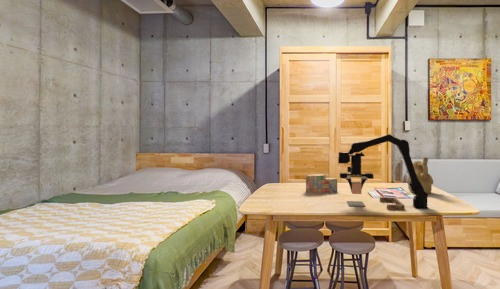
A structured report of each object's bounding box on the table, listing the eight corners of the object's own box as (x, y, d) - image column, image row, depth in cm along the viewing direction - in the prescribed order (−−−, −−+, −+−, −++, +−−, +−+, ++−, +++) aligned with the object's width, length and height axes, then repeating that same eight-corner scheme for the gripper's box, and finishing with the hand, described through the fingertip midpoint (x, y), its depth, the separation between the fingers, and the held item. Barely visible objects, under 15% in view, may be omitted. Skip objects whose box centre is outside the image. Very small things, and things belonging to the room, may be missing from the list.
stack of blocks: (333, 190, 250) (333, 173, 249) (337, 191, 244) (337, 174, 243) (305, 191, 246) (305, 174, 245) (309, 193, 239) (309, 175, 239)
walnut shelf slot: (395, 201, 210) (395, 197, 210) (404, 209, 190) (404, 205, 190) (379, 201, 212) (379, 197, 212) (387, 209, 191) (387, 205, 191)
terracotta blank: (361, 194, 200) (361, 183, 199) (352, 193, 200) (352, 183, 200) (359, 191, 207) (359, 181, 207) (350, 191, 208) (350, 181, 208)
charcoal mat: (362, 202, 209) (362, 201, 209) (365, 206, 198) (365, 205, 198) (346, 201, 211) (346, 200, 211) (349, 206, 199) (349, 205, 199)
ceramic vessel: (427, 190, 246) (427, 155, 245) (439, 195, 227) (440, 157, 226) (402, 189, 248) (402, 155, 247) (412, 195, 229) (413, 157, 227)
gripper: (370, 162, 209) (370, 187, 210) (338, 162, 213) (338, 187, 213) (373, 164, 198) (373, 191, 199) (340, 164, 202) (340, 190, 202)
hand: (356, 189), depth 204 cm, fingers closed on terracotta blank, 5 cm apart
